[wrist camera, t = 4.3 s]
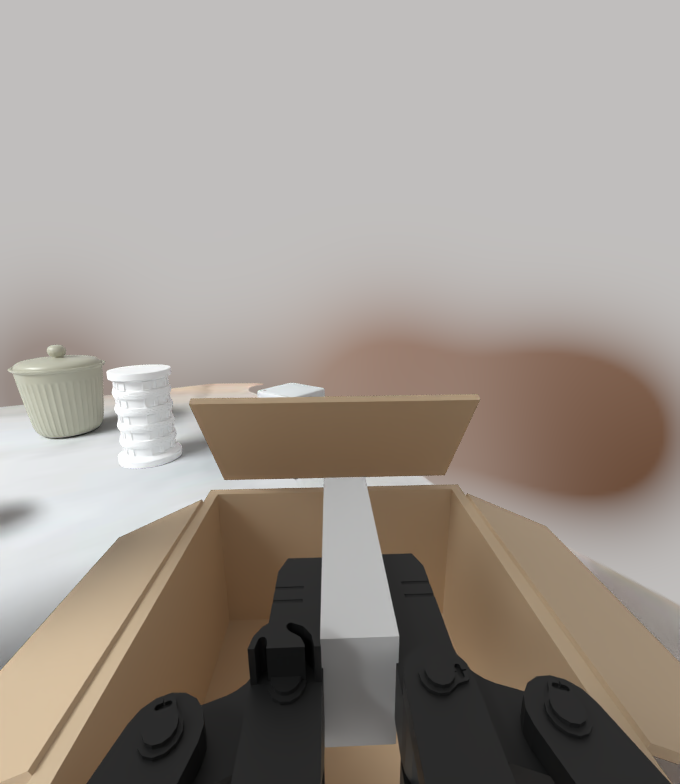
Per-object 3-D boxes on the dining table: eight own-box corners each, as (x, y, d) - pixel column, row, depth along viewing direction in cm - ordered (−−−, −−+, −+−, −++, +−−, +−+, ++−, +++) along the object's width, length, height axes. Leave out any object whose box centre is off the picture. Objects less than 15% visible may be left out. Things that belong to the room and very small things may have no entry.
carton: (962, 1312, 11) (1230, 1062, 8) (-313, 1437, 10) (-651, 1204, 7) (520, 610, 36) (538, 480, 33) (147, 623, 35) (125, 489, 32)
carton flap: (444, 475, 33) (480, 399, 25) (224, 479, 32) (189, 404, 24) (443, 470, 33) (478, 394, 25) (225, 474, 32) (190, 398, 25)
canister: (1, 444, 81) (-22, 349, 76) (66, 419, 99) (51, 340, 94) (78, 445, 80) (60, 349, 75) (130, 420, 97) (118, 340, 92)
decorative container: (187, 443, 81) (178, 363, 76) (175, 465, 69) (163, 373, 65) (131, 447, 78) (118, 365, 74) (108, 471, 67) (92, 376, 63)
